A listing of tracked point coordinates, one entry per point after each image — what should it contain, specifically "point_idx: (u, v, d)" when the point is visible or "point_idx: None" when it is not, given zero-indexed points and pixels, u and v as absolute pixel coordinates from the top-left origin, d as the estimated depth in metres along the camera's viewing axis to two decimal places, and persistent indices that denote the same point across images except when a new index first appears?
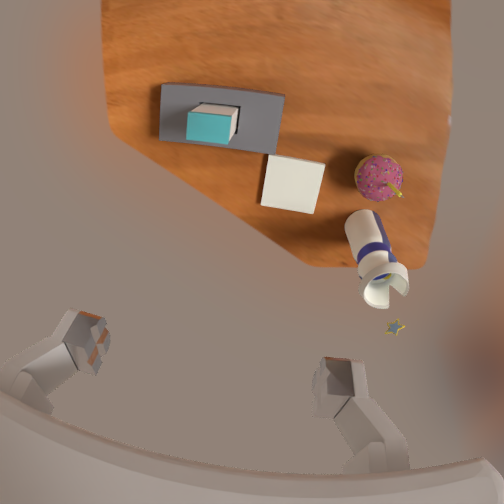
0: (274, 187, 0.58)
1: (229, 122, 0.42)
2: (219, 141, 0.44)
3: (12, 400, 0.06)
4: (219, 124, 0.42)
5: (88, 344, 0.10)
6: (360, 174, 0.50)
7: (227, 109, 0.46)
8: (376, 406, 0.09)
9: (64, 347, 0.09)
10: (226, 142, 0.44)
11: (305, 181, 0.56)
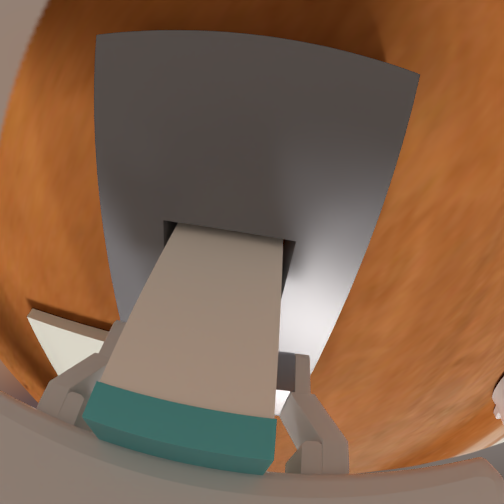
0: (71, 345, 0.22)
1: None
2: None
3: (12, 400, 0.06)
4: None
5: None
6: None
7: None
8: (317, 403, 0.09)
9: None
10: None
11: None
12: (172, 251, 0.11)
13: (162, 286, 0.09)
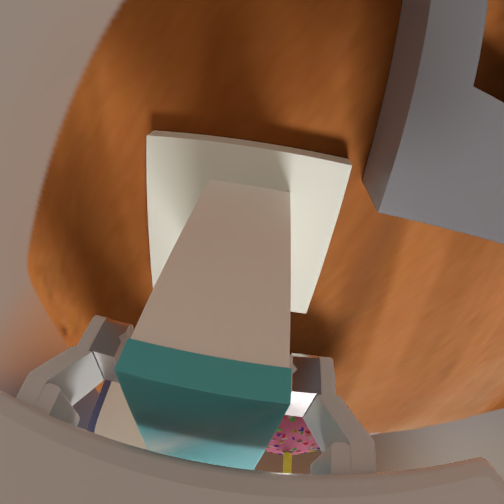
0: None
1: None
2: (151, 442, 0.09)
3: (12, 400, 0.06)
4: (221, 454, 0.09)
5: (118, 352, 0.10)
6: None
7: None
8: (343, 405, 0.09)
9: (92, 356, 0.09)
10: (154, 450, 0.10)
11: None
12: (191, 230, 0.12)
13: (184, 259, 0.10)
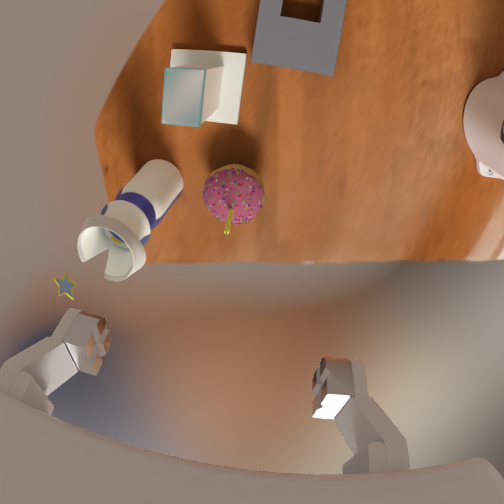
0: (199, 63, 0.36)
1: (191, 124, 0.31)
2: (164, 112, 0.30)
3: (12, 400, 0.06)
4: (187, 112, 0.30)
5: (88, 344, 0.10)
6: (236, 173, 0.41)
7: (210, 105, 0.35)
8: (376, 406, 0.09)
9: (64, 347, 0.09)
10: (164, 122, 0.31)
11: None
12: (186, 65, 0.33)
13: (183, 66, 0.31)
